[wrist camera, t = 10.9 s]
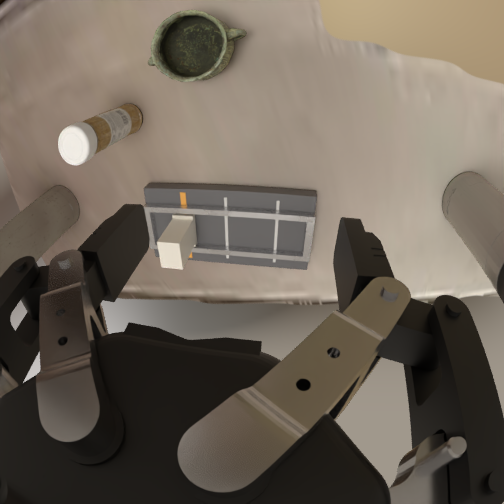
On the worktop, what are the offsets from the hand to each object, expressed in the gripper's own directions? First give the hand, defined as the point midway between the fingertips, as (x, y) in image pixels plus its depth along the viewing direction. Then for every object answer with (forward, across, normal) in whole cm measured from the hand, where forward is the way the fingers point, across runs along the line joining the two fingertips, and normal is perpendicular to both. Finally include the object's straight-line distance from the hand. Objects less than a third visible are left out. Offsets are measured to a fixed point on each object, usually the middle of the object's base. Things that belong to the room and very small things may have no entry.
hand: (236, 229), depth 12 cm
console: (+28, +6, +16) cm, 33 cm away
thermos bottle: (+28, +37, +14) cm, 49 cm away
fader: (+26, +12, +16) cm, 33 cm away
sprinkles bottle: (+28, +20, 0) cm, 35 cm away
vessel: (+28, +9, -9) cm, 31 cm away
